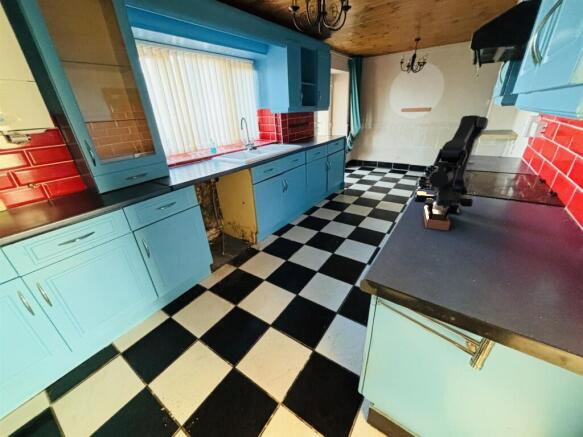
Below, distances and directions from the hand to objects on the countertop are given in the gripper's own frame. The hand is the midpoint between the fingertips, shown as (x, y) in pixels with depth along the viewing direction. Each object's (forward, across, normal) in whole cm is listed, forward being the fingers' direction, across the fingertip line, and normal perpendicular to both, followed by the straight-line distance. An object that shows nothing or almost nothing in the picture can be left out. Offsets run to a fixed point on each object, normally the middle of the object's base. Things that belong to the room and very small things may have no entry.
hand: (437, 218), depth 94 cm
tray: (+3, 0, +4) cm, 5 cm away
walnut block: (+1, 0, 0) cm, 1 cm away
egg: (+2, 0, +7) cm, 7 cm away
